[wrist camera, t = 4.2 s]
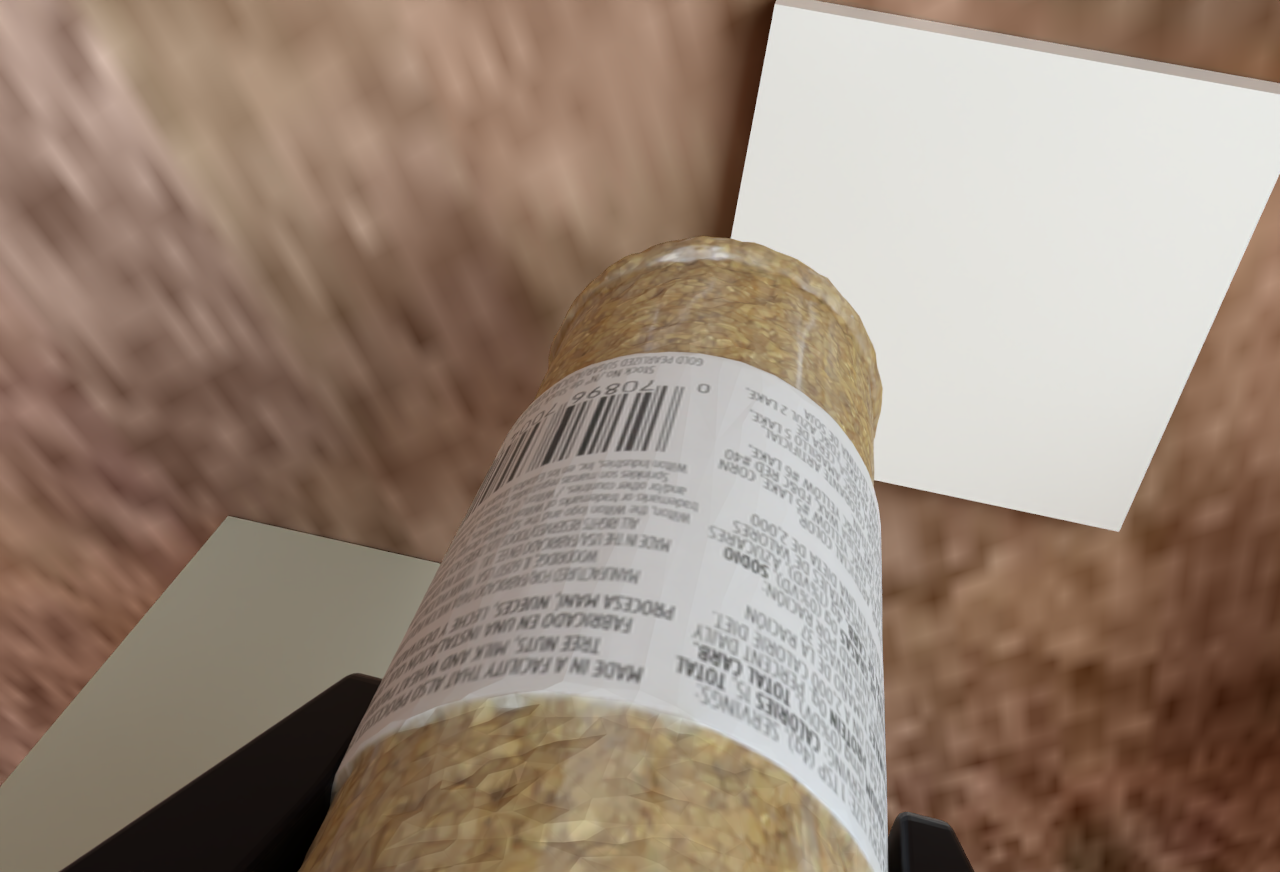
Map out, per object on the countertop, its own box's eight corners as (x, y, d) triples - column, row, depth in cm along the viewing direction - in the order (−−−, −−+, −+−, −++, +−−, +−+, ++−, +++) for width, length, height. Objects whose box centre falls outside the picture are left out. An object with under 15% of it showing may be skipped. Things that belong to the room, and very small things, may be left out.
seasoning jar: (600, 531, 17) (111, 2010, 6) (514, 252, 15) (-487, 1733, 4) (909, 499, 16) (1010, 2261, 5) (862, 191, 14) (851, 2065, 3)
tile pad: (1296, 86, 18) (1312, 100, 17) (1111, 507, 22) (1118, 531, 21) (779, -6, 18) (774, 4, 18) (698, 420, 23) (692, 441, 22)
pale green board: (752, 633, 25) (683, 1088, 17) (735, 699, 26) (664, 1157, 18) (227, 515, 26) (-86, 889, 18) (233, 583, 27) (-61, 966, 19)
